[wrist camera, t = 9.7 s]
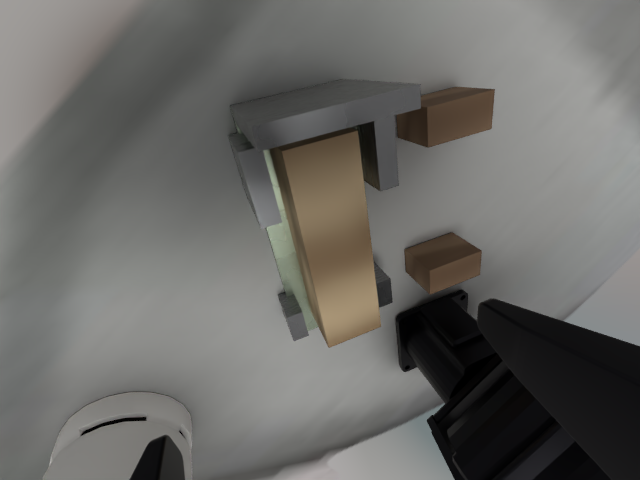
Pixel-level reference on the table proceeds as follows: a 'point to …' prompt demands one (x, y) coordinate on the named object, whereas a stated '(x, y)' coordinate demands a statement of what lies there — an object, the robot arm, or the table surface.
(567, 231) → the table surface
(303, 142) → the rail
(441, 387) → the robot arm
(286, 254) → the bracket
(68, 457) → the bottle
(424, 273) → the pair of brown blocks
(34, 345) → the table surface
